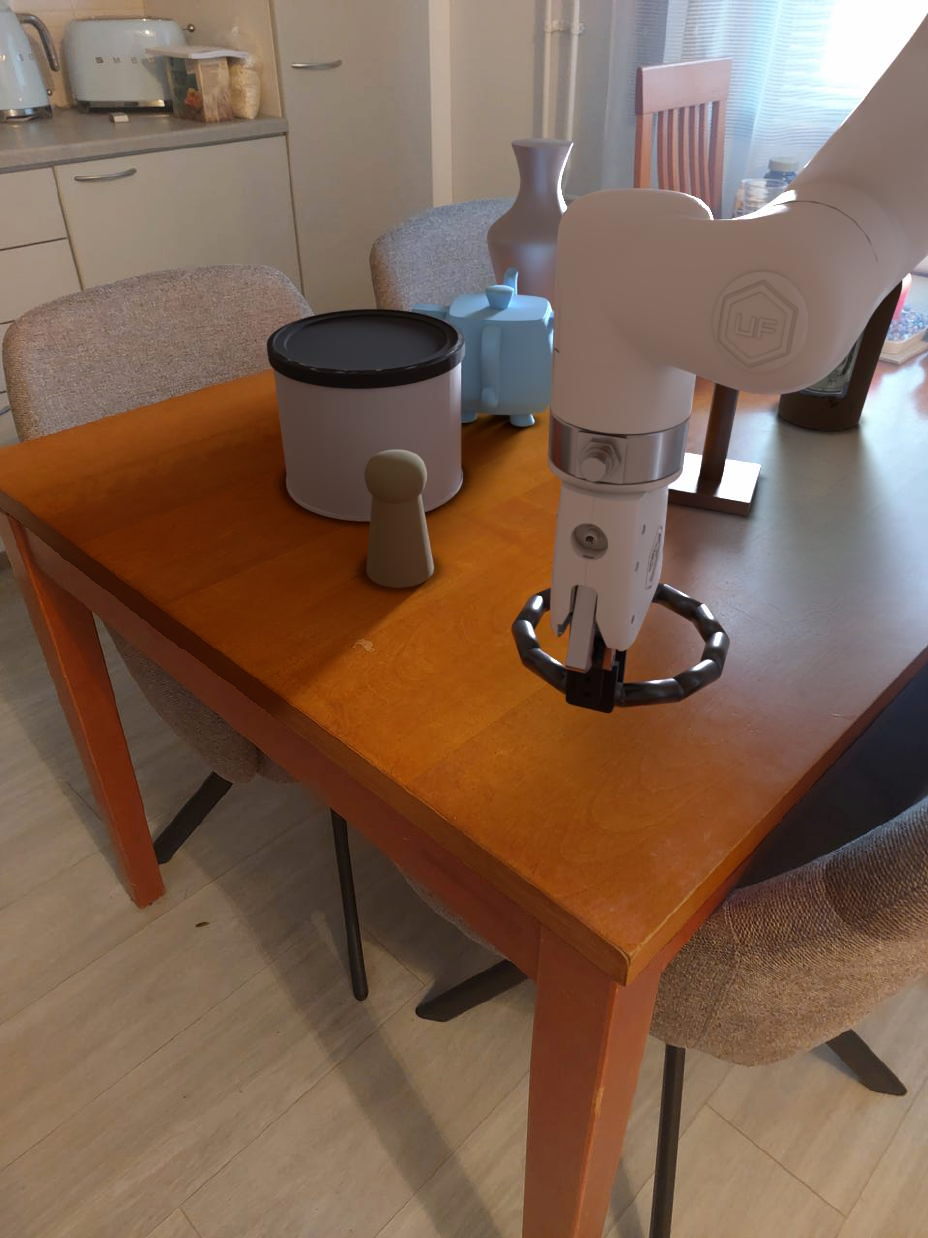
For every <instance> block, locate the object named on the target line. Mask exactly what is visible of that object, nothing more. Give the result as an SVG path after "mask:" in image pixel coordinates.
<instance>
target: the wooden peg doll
mask: <svg viewBox="0 0 928 1238" xmlns="http://www.w3.org/2000/svg"><path fill="white" fill-rule="evenodd" d="M364 476H365V482H366V485H367V488H368V491H369V492H370V493H371V494H372V506H371V519H370V521H369V532H368V545H367V546H368V548H367V560H366V574H367V577H368V578H369V579H370V580H371V581H372V582H373V583H376V584H377V585H379V586H384V587H386V588H393V589H394V588H396V589H403V588H411V587H414V586H418V585H420V584H422V583H424V582H426V581H427V580H429V579H430V578H431V576H432V575H433V574H434V570H435V566H434V559H433V554H432V548H431V543H430V535H429V531H428V526H427V518H426V514H425V513H426V512H425V513H424V508H423V502H422V496H421V493H422V491H423V490H424V488H425V484H426V480H427V470H426V467H425V464H424V462H423V461H422V459H421V458H420V457H419V456H418V455H417V454H414V453H412V452H409V451H406V450H396V449H395V450H387V451H383V452H380V453H378V454H376V455H374V456H373V457H371V458H370V460H369V461H368V463H367V465H366V468H365V473H364Z"/></svg>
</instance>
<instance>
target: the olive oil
mask: <svg viewBox="0 0 928 1238" xmlns="http://www.w3.org/2000/svg"><path fill="white" fill-rule="evenodd" d="M903 280H904V279H903ZM903 280H902V281H901V282H900V283H899V284H898V285H897V286H896V287H895V288H894V289H893V290H892V291H891V292H890V293H889V294H888V295H887V296H886V297H885V298H884V299H883V300H882V302H881V303H880V304H879V306H878V307H877V308H876V310H875V311H874V313H873V314H872V316H871V317H870V319H869V321H868V323H867V325H866V327H865V328H864V330H863V331H862V333H861V334H860V336H859V337H858V339H857V341H856V342H855V344H854V345H853V347H852V348H851V350H850V352H849V353H848V354H847V356H846V357H845V358H844V360H843V361H842V362H841V363H840V364H839V365H838V366H837V367H836V368H835V369H834V370H833V371H832V372H831V373H830V374H829V375H827V376H826V377H825V378H823V379H822V380H820V381H818V382H817V383H815V384H813V385H811V386H809V387H807V388H805V389H802V390H799V391H796V392H791V393H786V394H779V395H780V396H779V401H778V406H777V407H778V408H777V412H778V415H780V417H781V418H782V419H784V420H785V421H787V422H789V423H791V424H793V425H796V426H799V427H802V428H805V429H810V430H815V431H816V430H818V431H833V432H834V431H843V430H848V429H851V428H853V427H855V426H857V424H858V423H859V421H860V419H861V417H862V413H863V411H864V406H865V404H866V400H867V397H868V395H869V391H870V387H871V384H872V381H873V378H874V375H875V372H876V368H877V365H878V362H879V360H880V356H881V355H882V354H881V353H882V351H883V348H884V344H885V342H886V340H887V335H888V333H889V330H890V326H891V323H892V321H893V319H894V315H895V313H896V309H897V306H898V304H899V301H900V298H901V295H902V290H903Z"/></svg>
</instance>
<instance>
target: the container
mask: <svg viewBox="0 0 928 1238" xmlns="http://www.w3.org/2000/svg"><path fill="white" fill-rule="evenodd" d="M266 351H267V360H268V363H269V365H270V367H271V368H272V370H273V376H274V385H275V393H276V399H277V400H276V401H277V409H278V416H279V417H278V418H279V425H280V433H281V439H282V448H283V456H284V463H285V464H284V465H285V470H286V471H285V472H286V478H285V483H286V489H287V493H288V495H289V496H290V497H291V499H293V501H294V502H295V503H297V504H298V505H299V506H300V507H302V508H303V509H306V510H308V511H309V512H312V513H315V514H317V515H319V516H323V517H326V518H330V519H331V518H332V519H336V520H341V521H346V522H347V521H348V522H349V521H350V522H370V519H371V506H372V494H371V493H370V492H369V491H368V488H367V485H366V482H365V476H364V473H365V468H366V465H367V463H368V461H369V460H370V458H371V457H373V456H374V455H376V454H378V453H380V452H383V451H387V450H395V449H396V450H406V451H409V452H412V453H414V454H417V455H418V456H419V457H420V458H421V459H422V461H423V462H424V464H425V467H426V470H427V480H426V484H425V488H424V490H423V491H422V493H421V496H422V502H423V508H424V513H427V512H429V511H430V512H431V511H433V510H434V509H437V508H439V507H441V506H442V505H444V504H446V503H447V502H449V501H450V500H451V499H453V498H454V496H455V495H456V494H457V493H458V492H459V490H460V489H461V487H462V484H463V480H464V479H463V478H464V472H463V468H462V423H461V361H462V360H463V358H464V355H465V337H464V334H463V332H462V331H461V330H460V329H459V328H458V327H457V326H455V325H454V324H452V323H450V322H448V321H446V320H443V319H441V318H437V317H434V316H431V315H427V314H422V313H416V312H411V311H409V310H402V309H401V310H400V309H392V308H391V309H389V308H359V309H346V310H345V309H344V310H336V311H330V312H325V313H324V312H323V313H319V314H315V315H310V316H307V317H303V318H299V319H297V320H294V321H292V322H289V323H286V324H285V325H283V326H280V327H279V328H277V329H276V330H275V331H273V332H272V333H271V334H270V335H269V337H268V338H267V341H266Z"/></svg>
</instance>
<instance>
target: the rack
mask: <svg viewBox="0 0 928 1238" xmlns="http://www.w3.org/2000/svg"><path fill="white" fill-rule="evenodd" d="M739 395H740V390H736V389H733V388H730V387H726V386H724V385H721V384H718V383H715V382H714V386H713V392H712V397H711V403H710V408H709V414H708V418H707V419H708V420H707V426H706V432H705V436H704V437H705V438H704V443H703V449H702V454H695V453H690V452H686V453H685V460H684V466H683V472H682V474H681V476H680V477H679V478H678V479H677V480H676V481H675V482H672V483H671V484H669V488H668V501H667V503H672V504H678V505H683V506H687V507H688V506H689V507H694V508H700V509H705V510H711V511H716V512H721V513H728V514H733V515H738V516H744V517H745V516H746V517H747V516H749V513H750V509H751V505H752V502H753V498H754V494H755V491H756V488H757V484H758V481H759V477H760V474H761V468H762V465H761V464H757V463H750V462H744V461H739V460H733V459H727V457H728V452H729V448H730V442H731V437H732V432H733V426H734V422H735V416H736V410H737V407H738V406H737V405H738V400H739Z"/></svg>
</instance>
